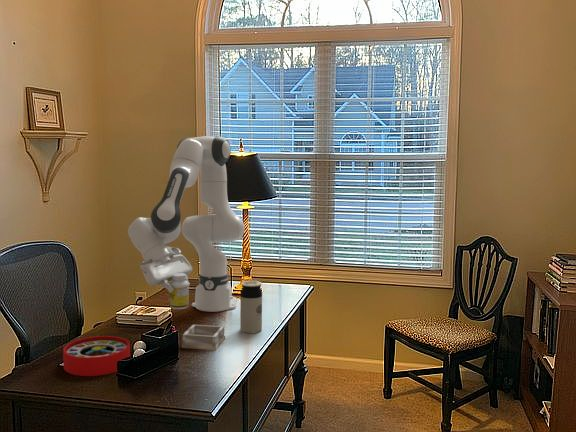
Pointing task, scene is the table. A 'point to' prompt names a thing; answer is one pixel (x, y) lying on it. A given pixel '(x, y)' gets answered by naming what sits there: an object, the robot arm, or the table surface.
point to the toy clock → (95, 355)
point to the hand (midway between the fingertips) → (180, 288)
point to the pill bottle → (179, 292)
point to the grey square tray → (203, 337)
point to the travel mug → (251, 307)
